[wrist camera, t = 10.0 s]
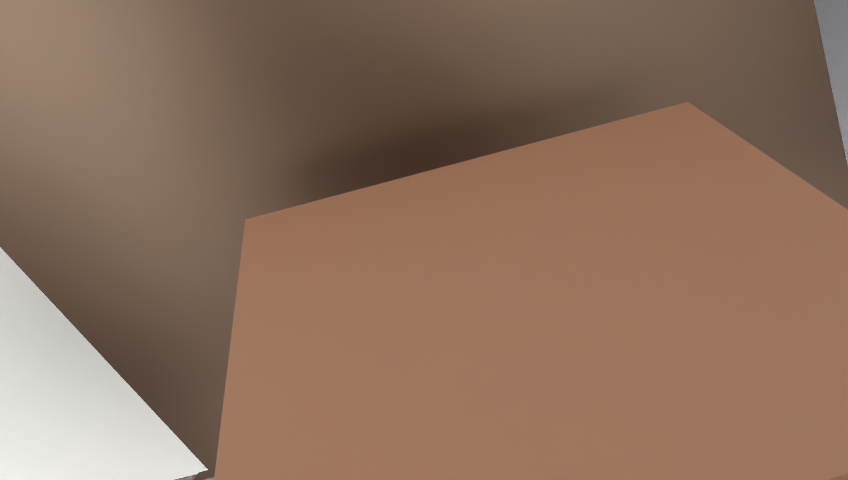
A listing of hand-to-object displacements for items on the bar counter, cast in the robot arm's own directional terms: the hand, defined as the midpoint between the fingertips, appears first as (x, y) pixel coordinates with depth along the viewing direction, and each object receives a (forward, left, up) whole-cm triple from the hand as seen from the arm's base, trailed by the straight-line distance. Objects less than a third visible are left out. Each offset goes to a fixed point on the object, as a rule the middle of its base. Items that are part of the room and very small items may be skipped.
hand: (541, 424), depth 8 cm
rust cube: (0, 0, -2) cm, 2 cm away
